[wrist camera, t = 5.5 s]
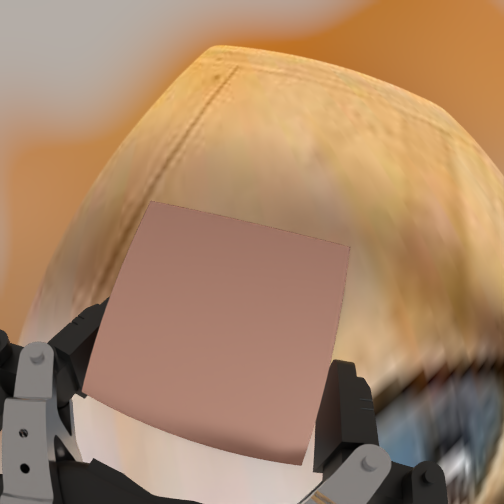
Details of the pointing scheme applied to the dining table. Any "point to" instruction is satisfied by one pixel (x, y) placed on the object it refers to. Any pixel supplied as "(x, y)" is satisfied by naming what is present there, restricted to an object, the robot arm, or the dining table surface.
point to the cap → (221, 332)
